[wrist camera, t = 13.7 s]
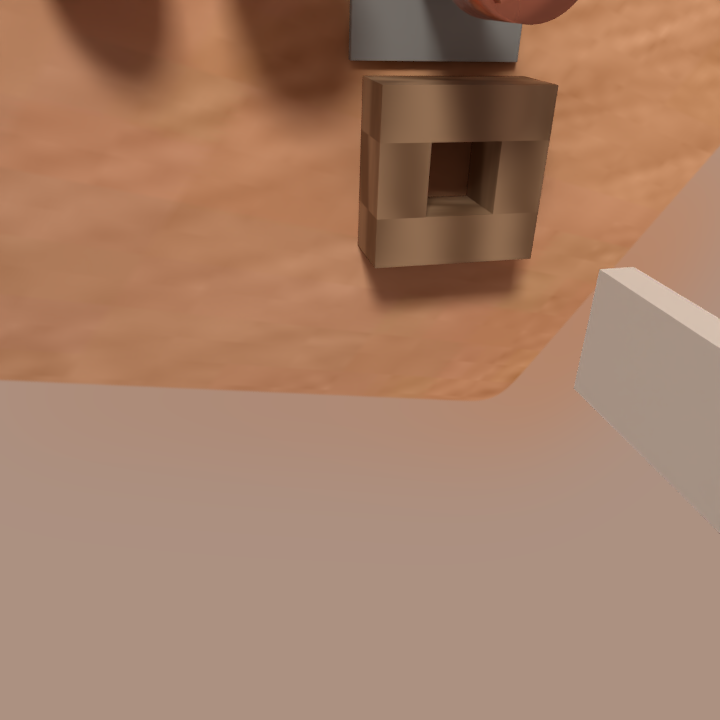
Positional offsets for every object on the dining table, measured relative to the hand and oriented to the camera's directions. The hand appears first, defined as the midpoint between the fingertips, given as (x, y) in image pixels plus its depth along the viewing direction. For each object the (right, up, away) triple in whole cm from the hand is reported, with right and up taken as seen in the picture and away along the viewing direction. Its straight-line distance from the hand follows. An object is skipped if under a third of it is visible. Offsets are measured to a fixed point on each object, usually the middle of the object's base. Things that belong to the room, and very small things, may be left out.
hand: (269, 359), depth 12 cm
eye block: (+7, +15, +37) cm, 41 cm away
